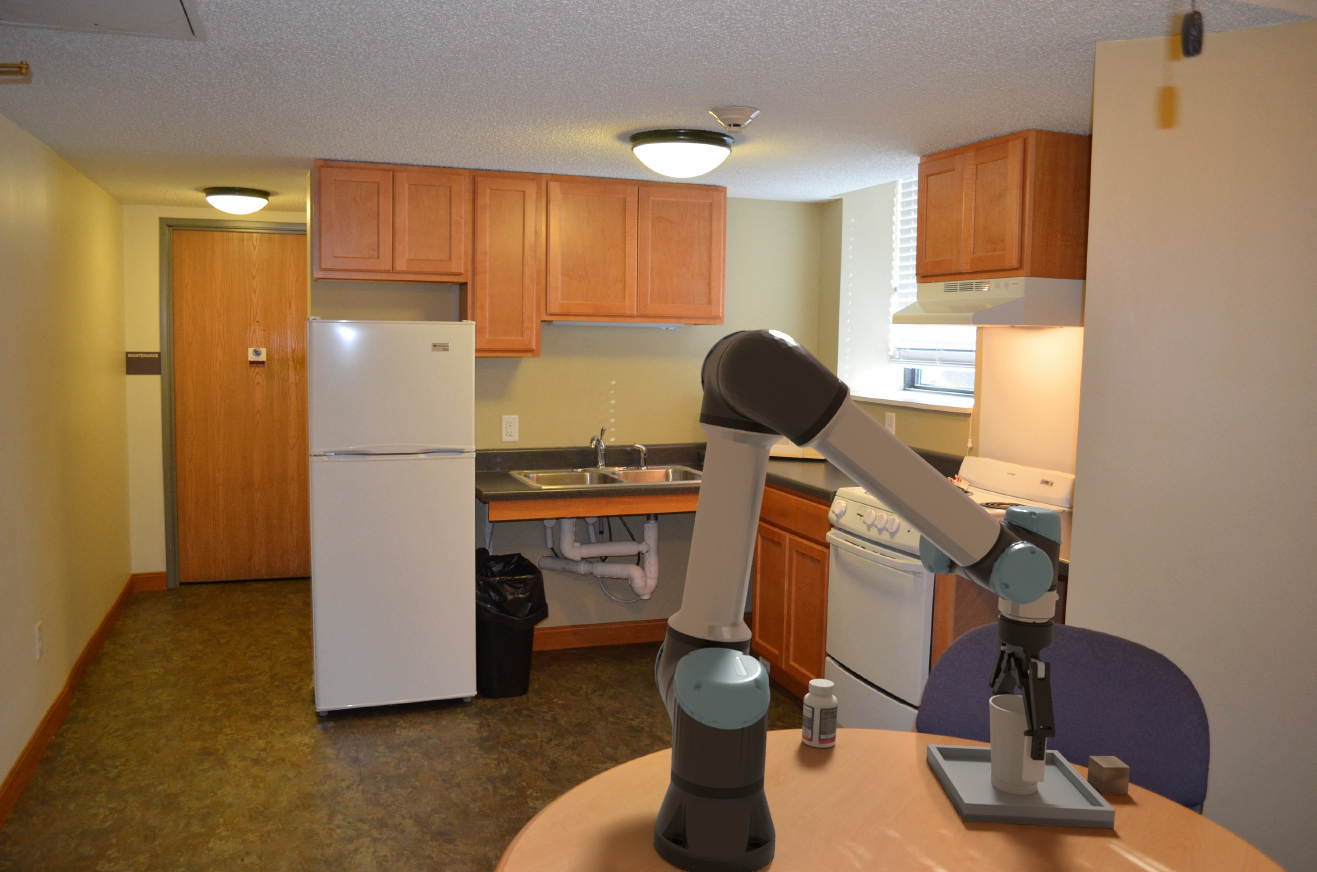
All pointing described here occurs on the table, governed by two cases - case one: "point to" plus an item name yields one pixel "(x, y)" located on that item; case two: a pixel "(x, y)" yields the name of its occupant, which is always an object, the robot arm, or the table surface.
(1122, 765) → the walnut block
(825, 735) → the pill bottle
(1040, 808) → the tray
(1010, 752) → the cup
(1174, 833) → the table surface
